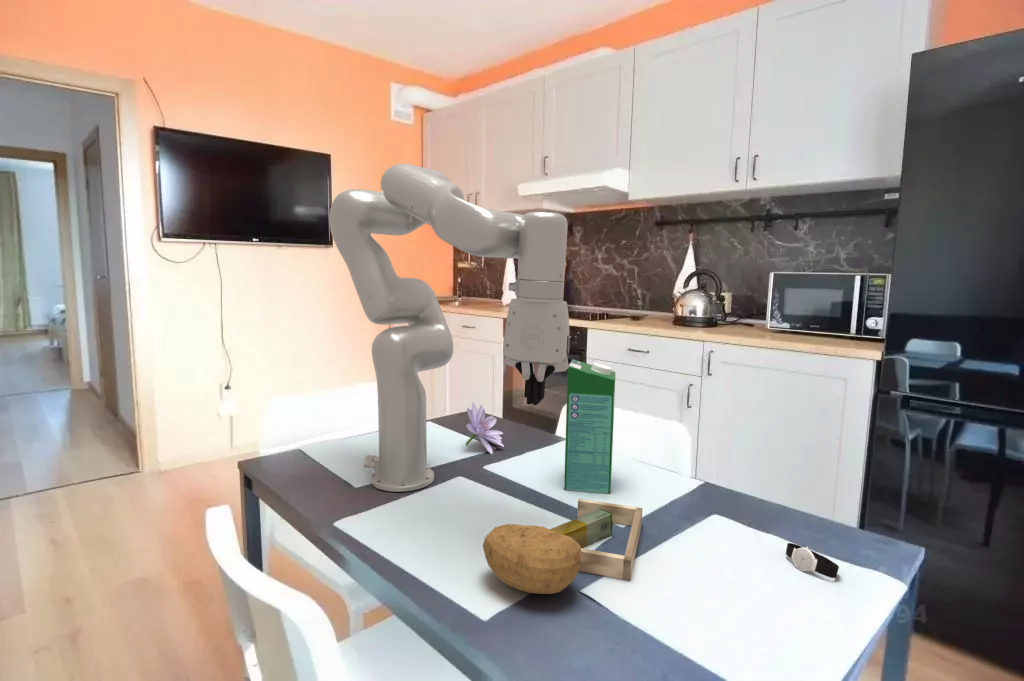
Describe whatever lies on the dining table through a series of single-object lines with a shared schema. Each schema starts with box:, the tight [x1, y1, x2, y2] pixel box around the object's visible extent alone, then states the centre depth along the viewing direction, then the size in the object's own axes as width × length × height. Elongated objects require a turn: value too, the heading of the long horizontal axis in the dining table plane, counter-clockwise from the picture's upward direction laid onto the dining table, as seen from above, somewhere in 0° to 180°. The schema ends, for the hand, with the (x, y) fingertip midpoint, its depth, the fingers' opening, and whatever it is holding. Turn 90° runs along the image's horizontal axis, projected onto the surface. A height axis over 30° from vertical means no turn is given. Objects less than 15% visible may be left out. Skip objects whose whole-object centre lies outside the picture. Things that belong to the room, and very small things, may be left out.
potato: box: [482, 523, 582, 595], centre depth 74 cm, size 10×14×8 cm
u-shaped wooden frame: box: [576, 498, 643, 582], centre depth 86 cm, size 11×18×3 cm, turn 161°
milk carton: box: [563, 359, 616, 495], centre depth 109 cm, size 9×9×25 cm
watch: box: [785, 542, 840, 579], centre depth 80 cm, size 8×5×4 cm, turn 25°
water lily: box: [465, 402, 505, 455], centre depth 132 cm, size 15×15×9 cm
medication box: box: [549, 509, 613, 549], centre depth 86 cm, size 12×3×4 cm, turn 129°
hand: (533, 402), depth 89 cm, fingers closed
